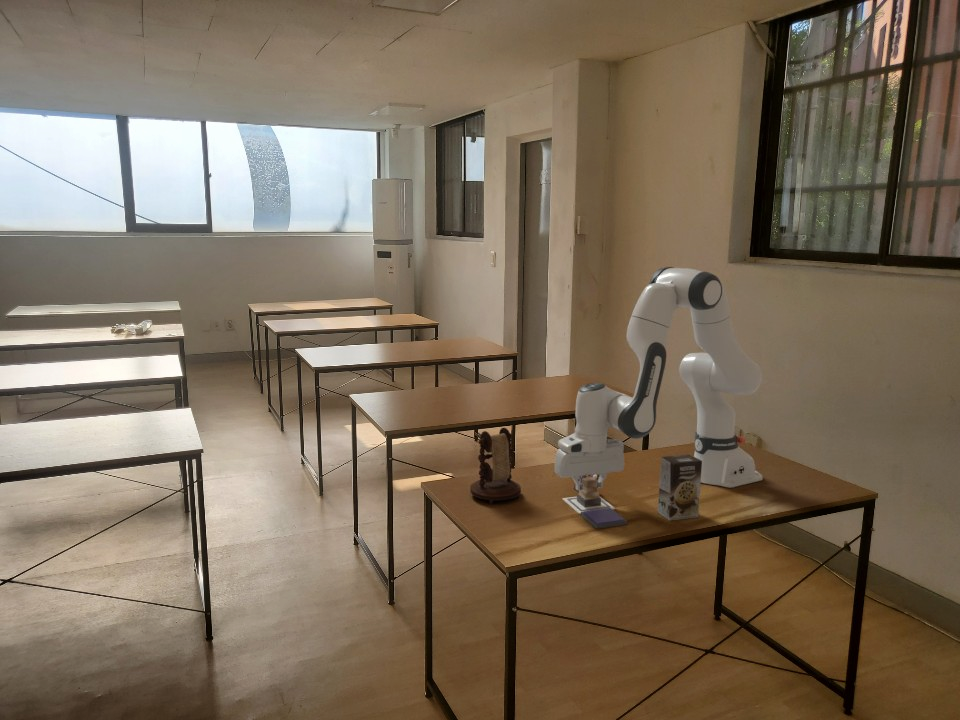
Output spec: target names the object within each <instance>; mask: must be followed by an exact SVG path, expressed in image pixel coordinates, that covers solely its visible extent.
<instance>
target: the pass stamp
mask: <svg viewBox="0 0 960 720" xmlns="http://www.w3.org/2000/svg"><path fill="white" fill-rule="evenodd" d="M582 484H583V487H582V488H583V490H579V491H578V493H577V494H576V497H577V501H578V502H579V503H580V504H581V505H582V506H583V507H593V506H600V505H601V498H602V497H601V496H600V491H599V490H598V488H597V480H595V479H594V478H593V477H591V476H588V477H586V478H582ZM599 496H600V497H601V498H600V497H599Z"/></svg>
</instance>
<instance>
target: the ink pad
mask: <svg viewBox="0 0 960 720" xmlns="http://www.w3.org/2000/svg"><path fill="white" fill-rule="evenodd" d="M580 516H581V517H582V518H583V519H584V520H585V521H587V523H589V524H590V525H591V526H592V527H593V528H595V529H596V530H597V529H604V528H610V527H619V526H620V527H621V526H625V525H628V521H627V520H626V518H624V517H623V516H621V515H620V514H619V513H618V512H616V511H615V509H614V510H612V509H611V508H606V509H598V510H590V511H583V512H581V514H580Z"/></svg>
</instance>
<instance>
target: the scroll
mask: <svg viewBox="0 0 960 720" xmlns="http://www.w3.org/2000/svg"><path fill="white" fill-rule="evenodd" d="M512 439H513V434H512V433H511V432H510V431H509V429H508V428H506V427H502V428H500V429H499V433H498V434H493V435H491V434H490V433H489V432H488V431H486V430H483V431H482V432H481V434H480V439H478V445H479V448H480V449H479V455H478V457H477V460H478V461H479V463H480V464H479V470H478V475H479V477H478V478H479V480H476V481H474V482H473V483H472V484H471V485H469V486H470V488H469V492H470V493H471V495H472V496H474V497H476V498H478V499H481V500H485V501H489V504H490V505H493V504H494V501H506V500H512V499H515V498H520V496H521V492H522V491H521V490H522V486H521V485H520V484H519V483H517V482H516V481H514V480H512V477H513V476H512V474H511V473H512V468H513V465H512V464H511V463H512V459H511V457H512V455H513V453H514V450H513V449H512V448H513V445H512V443H511V442H513V440H512ZM485 452H486V453H487V454H485ZM490 459H492V460H491V461H492V467H491V465H490V463H488V462H487V461H486V460H490Z"/></svg>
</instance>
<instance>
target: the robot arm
mask: <svg viewBox="0 0 960 720" xmlns="http://www.w3.org/2000/svg"><path fill="white" fill-rule="evenodd" d="M678 308H687V309H690V318H691V325H692V331H693V336H694V341H695V343H696V345H697V346H698V347H699V348H700V349H701V350H702V351H704V352H692V353H691V352H690V353H687V354H686V355H685V356H684V357H683V358H682V359H681V362H680V364H679V376H680V378H681V380H682V381H683V382H684V383H685V384H686V385H687V387H688V388H689V389H690V391H691V393H692V396H693V398H694V401H695V405H696V413H697V415H696V416H697V417H696V418H697V419H696V425H697V426H696V431H695V433H694V455H693V457H695V458H697V459H699V460H701V461H702V469H701V483H703V484H707V485H712V486H721V487H725V488H735V487H740V486H744V485H748V484H752V483H756V482H760V481H763V480H764V479H763V474H761V473H760V472H759V471H757V470H756V464H755V461H754V458H753V457H752V456H751V455H750V454H749V453H747V452H746V451H744V450H743V449H742V448H741V447H740V446H739V444H742V445H743V444H745V443H746V441H747V440H746V438H745V437H744V436H741V435H739V436H738V435H736V434H735V427H736V416H737V415H736V411H735V408H734V407H733V406H732V405H731V404H729V403H728V402H727V400H726V399H725V397H724V396H723V393H725V394H726V393H727V394H731V395H752V394H753V395H754V393H755V392H757V390H758V389H759V388H760V387H761V384H762V382H763V373H762V369H761V367H760V365H759V364H758V363H756V362H755V361H753V360H752V359H751V358H750V356H748V355H747V353H746V352H744V350H743V349H742V347H741V346H740V344H739V342H738V340H737V337H736V335H735V330H734V326H733V321H732V313H731V307H730V303H729V298H728V296H727V293H726V289H725V287H724V284H723V283H722V282H721V280H720V279H719V277H718V276H717V275H715V274H713V273H711V272H708V271H702V270H698V269H694V268H690V267H686V268H683V267H672V266H665V267H661V268H658V269H657V270H656V271H655V272H654V273H653V274H652V276H651V278H650V280H649V282H648V285H646V286H645V287H644V289H643V290H642V292H641V294H640V295H639V297H638V299H637V302H636V303H635V306H634V308H633V309H632V310H633V311H632V313H631V316H630V319H629V322H628V326H627V327H626V341H627V344H628V345H629V347H630V349H631V350H632V351H633V352H634V353H635V355H636V357H637V359H638V362H639V373H638V378H637V382H636V386H635V390H634V394H633V396H631V395H628V394H626V393H622V392H619V391H616V390H613V389H611V388H609V386H607V385H606V384H605V383H602V382H590V383H589V382H588V383H586V384H584V385H582V386H581V387H580V388H579V390H578V392H577V395H576V400H575V415H574V416H575V419H576V420H575V421H576V425H575V427H574V432H572V434H570V435H568V436H567V435H566V436H565V437H563V438H561V439H558V441H557V445H558V447H559V448H558V450H557V451H556V454H555V458H554V473H555V474H556V475H557V476H558V477H559V478H562V479H564V478H572V480H573V481H574V483H576V484H574V486H575V488H576V489H575V490H576V491H577V492H579V490H583V488H582V487H583V484H581V483H580V482H579V481H578V479H580V476H583V475H586V476H588V475H591V474H594V475H595V474H598V475H599V478H598V480H597V489H600V488H601V489H602V488H603V486H604V482H605V480H606V478H607V477H608V473H609V474H610V473H615V472H623V470H624V468H625V455H624V450H625V449H624V448H625V445H624V444H625V443H624V442H623V440H621V439H620V438H614V439H613V438H612V439H611V438H610V439H609V438H608V429H609V428H612V427H613V428H614V429H616V430H618V431H619V432H622V433H623V434H624V435H625V436H627V437H628V438H630V439H635V440H638V439H641V438H644V437H646V436H647V435H649V434H650V433H651V431H653V429H654V427H655V424H656V421H657V404H658V398H659V394H660V389H661V387H662V382H663V377H664V373H665V369H666V363H667V350H666V349H667V342H668V341H667V340H668V336H669V332H670V329H671V327H672V324H673V319H674V317H675V316H674V315H675V313H676V311H677V310H678ZM607 438H608V439H607ZM738 443H739V444H738Z"/></svg>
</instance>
